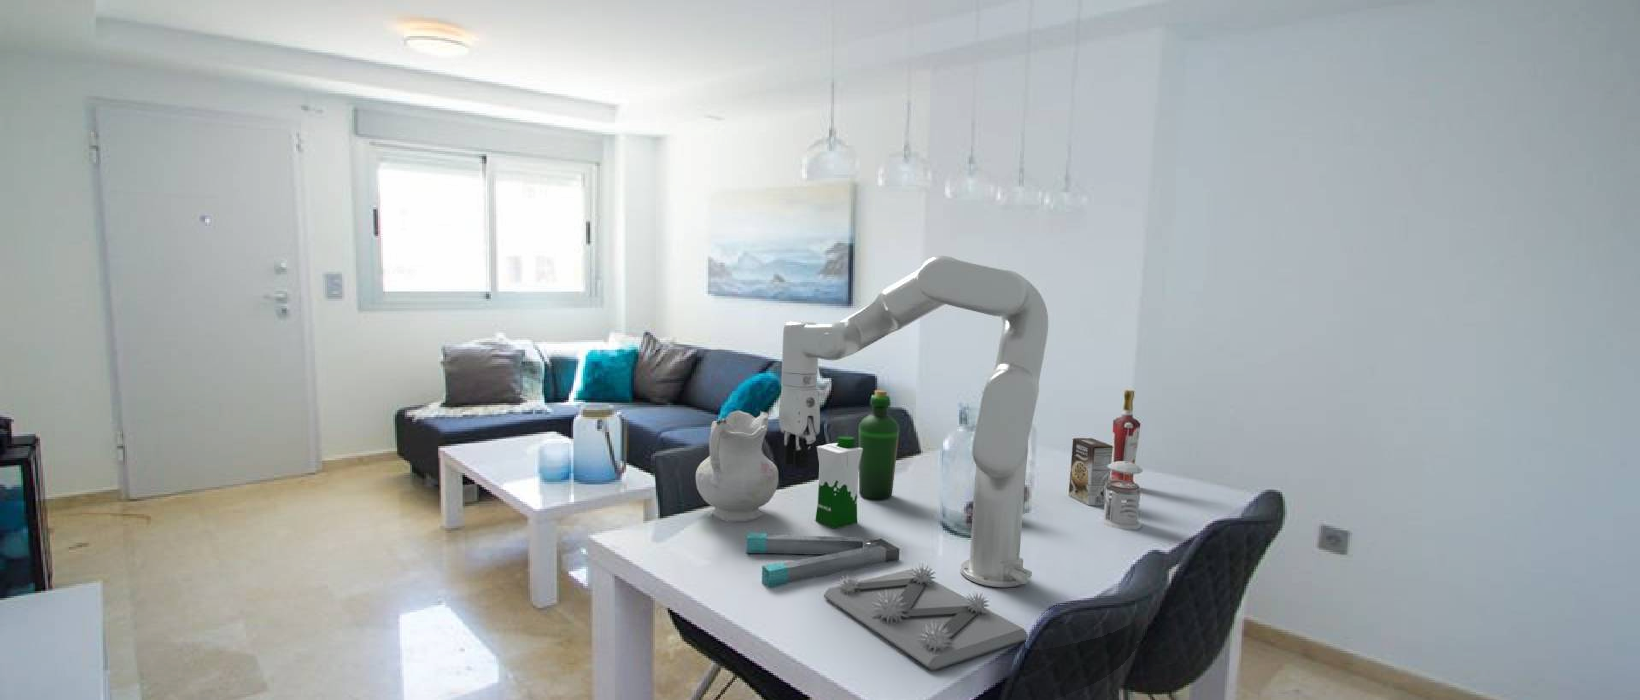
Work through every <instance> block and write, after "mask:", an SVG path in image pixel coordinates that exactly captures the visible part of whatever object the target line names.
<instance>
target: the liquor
mask: <svg viewBox="0 0 1640 700" xmlns="http://www.w3.org/2000/svg"><path fill="white" fill-rule="evenodd" d="M1123 392H1124V393H1123V397H1124V398H1123V399H1124V401H1123V407H1122V411H1121V412H1122V413H1121V416H1119V417H1116V418H1115V419H1113V420H1112V446H1113V452H1112V462H1111V463H1113V462H1117V461H1125V456H1126V461H1127V462H1131V463H1133V464H1135V465H1136V460H1137V459H1136V457H1137V451H1138V444H1139V437H1140V429H1141V422H1140V421H1138V420H1137V419H1136V418H1134V413H1133V412H1134V409H1133V407H1134V406H1133V404H1134V402H1133V401H1134V398H1135V390H1132V389H1125V390H1124V391H1123ZM1126 423H1131V424H1132V425H1133V428H1129V432H1128V428H1126V427H1124V425H1125V424H1126ZM1127 433H1128V444H1127ZM1126 444H1127V455H1126ZM1134 475H1135V474H1127V473H1125V478H1124V473H1119V472H1115V471H1112V470H1111V472H1110V477H1111V476H1115V480H1120V481H1121V480H1123V479H1124V481H1127V482H1128V481H1129V482H1131V483H1135V482H1134ZM1110 479H1112V480H1114V477H1112V478H1110Z"/></svg>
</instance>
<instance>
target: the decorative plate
mask: <svg viewBox="0 0 1640 700" xmlns="http://www.w3.org/2000/svg"><path fill="white" fill-rule="evenodd" d="M913 567H914V568H911V569H906V570H902V571H899V572H894V573H888V574H884V575H881V576H876V577H871V578H868V579H863V580H859V578H856V575H854V576H853V577H852V578H851V576H848V575H846V578H845V577H844V576H843V575H842V576H841V577H842V578H839V580H840V581H841V582H842V583H841V582H837V586H832V587H829V588H828V589H827V590H826V591H825V592H824V593H823V597H824V598H826V600H828V601H830V602H831V603H833V604H834V605H835V606H837V607H838V608H839V609H841V610H843V611H845V612H846V613H847V614H848V615H850V616H851V617H852V618H854V619H856V620H857V621H859V622H860V623H861V624H862V625H864V626H866V627H867V628H869V629H870V630H871V631H873V632H875V633H876V634H878V635H879V636H880V637H882V638H884V639H885V640H887V641H888V642H889V643H891V644H892V645H894V646H895V647H897V648H898V649H900V650H901V651H902V652H904V653H905V654H907V655H909V656H910V657H911V658H913V659H914V660H915V661H917V662H919V663H920V664H922V665H923V666H924V667H925V668H928V670H930V671H931V672H932V671H933V672H934V671H936V670H940V669H944V668H946V667H949V666H951V665H955V664H958V663H961V662H964V661H967V660H969V659H973V658H975V657H979V656H981V655H984V654H987V653H990V652H993V651H997V650H1000V649H1003V648H1005V647H1009V646H1011V645H1012V646H1013V645H1014V644H1017V643H1021V642H1024V641H1025V640H1027V639H1026V637H1027V638H1028V631H1026V629H1025V628H1023V627H1022V626H1020V625H1018V624H1016V623H1015V622H1012V621H1010V620H1009V619H1006V618H1004V617H1003V616H1001V615H999V614H997V613H995V612H993V611H992V610H990V609H988V608H986V607H989V604H986V603H987V602H989V599H987V600H985V599H986V598H987V596H983V592H980V594H979V595H978V593H975V592H974V591H972V593H973V595H971V594H970V593H968V596H967V595H965V596H963V595H961V594H960V593H958V592H957V591H954V590H952V589H950V588H948V587H946V586H944V585H943V584H941V583H939V582H937V581H935V580H934V579H936V576H933V575H935V574H936V572H935V571H933V572H931V571H932V570H933V568H932V567H930V568H929V564H928V563H927V564H926V566H925V567H924V564H921V565H920V563H918V568H917V567H916V566H915V565H913ZM928 568H929V569H928ZM855 578H856V579H855ZM858 580H859V581H858ZM972 596H973V597H972Z"/></svg>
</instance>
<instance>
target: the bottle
mask: <svg viewBox="0 0 1640 700" xmlns="http://www.w3.org/2000/svg"><path fill="white" fill-rule="evenodd" d="M887 394H888V390H882V389H876V390H874V394H872V395H871V398H870V400H869V401H870V402H869V405H870V406H871V413H870V414H868V415H867V416H865V417H864V418H862V419H861V421H860V423H858V447H859V448H862V449H863V450H862V454H861V459H860V463H859V470H858V489H859V490H858V493H859V494H860V496H861V497H862V498H865V499H868V500H874V501H884V500H887V499H889V498H890V499H891V497H892V495H893V491H894V490H893V489H894V478H895V473H896V471H895V470H896V461H897V452H898V444H899V436H900V425H899V424H898V422H897V420H896V419H894V418H893V417H892V416H890V415H889V414H888V412H889V407H890V406H891V405H892V404H891V398H890V397H891V396H889V395H887Z"/></svg>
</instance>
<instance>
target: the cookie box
mask: <svg viewBox="0 0 1640 700" xmlns="http://www.w3.org/2000/svg"><path fill="white" fill-rule="evenodd" d="M1071 448H1072V449H1071V457H1070V458H1071V460H1070V461H1071V462H1070V471H1069V482H1068V483H1069V484H1068V485H1069V487H1068V496H1069V497H1070V498H1073V499H1075V500H1077V501H1078V502H1081V503H1083V504H1085V505H1087V506H1105V502H1103V501H1105V498H1104V487H1105V484H1106V482H1107V481H1108V479H1109V475H1107V474H1110V475H1111V470H1110V469H1108V467H1107V466H1108V465H1109V464H1111V463H1112V452H1113V446H1112V445H1111V444H1109V443H1106V442H1104V441H1100V440H1098V439H1095V438H1092V437H1090V438H1085V437H1077V438H1076V437H1075V438H1072V446H1071ZM1105 475H1107V476H1106V477H1105V478H1104V479H1103V477H1104V476H1105ZM1102 479H1103V481H1102V483H1101V480H1102ZM1109 481H1110V479H1109ZM1109 481H1108V482H1109ZM1108 482H1107V485H1106V487H1105V496H1106V488H1107V487H1108V486H1110V485H1109V484H1108ZM1100 483H1101V486H1100V495H1101V499H1102V500H1103V501H1102V500H1101V499H1100V496H1099V485H1100Z"/></svg>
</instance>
